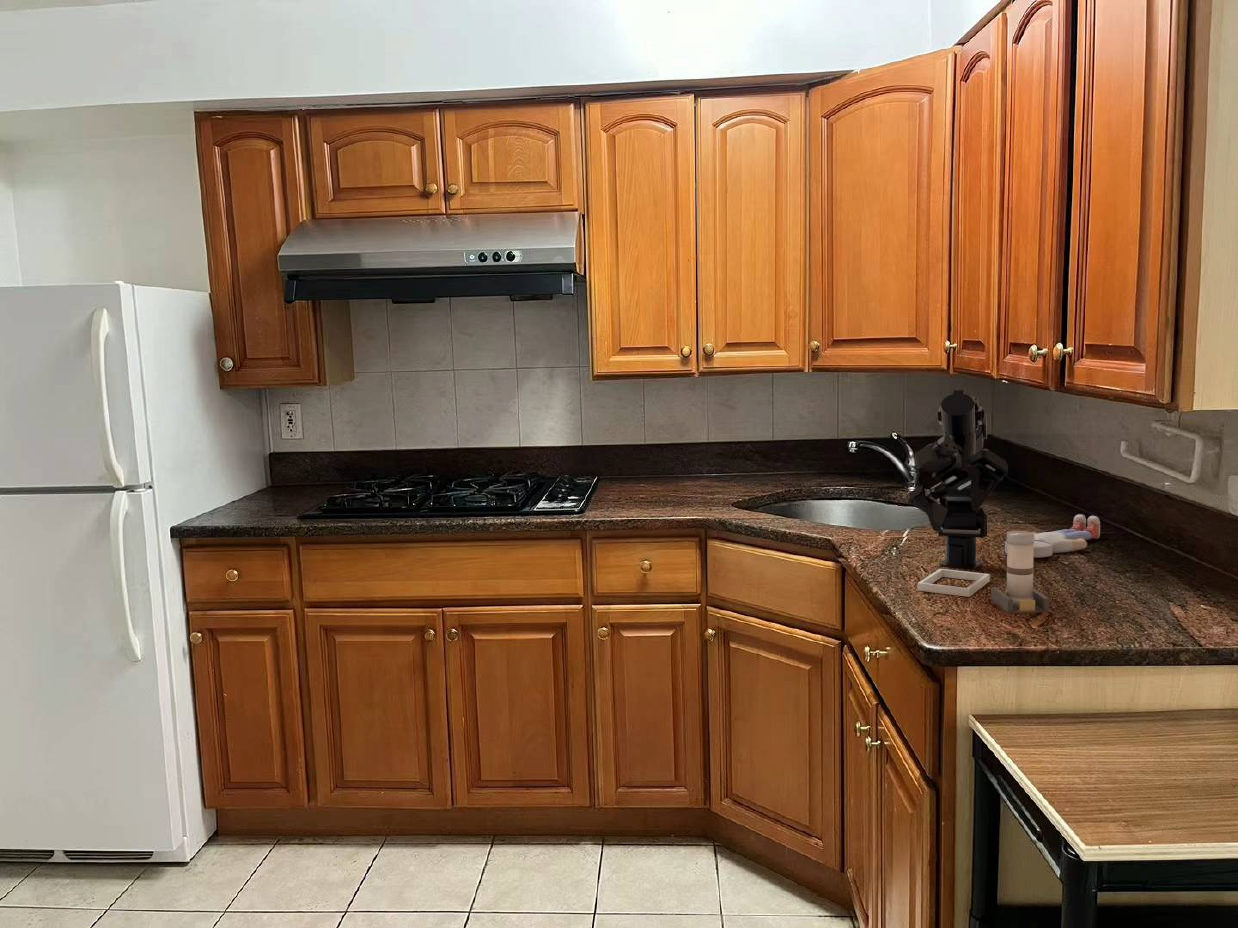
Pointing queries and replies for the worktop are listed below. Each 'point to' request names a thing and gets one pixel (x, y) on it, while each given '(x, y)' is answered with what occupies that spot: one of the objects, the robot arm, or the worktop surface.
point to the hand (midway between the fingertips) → (954, 520)
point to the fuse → (1020, 566)
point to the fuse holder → (1020, 602)
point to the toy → (1066, 537)
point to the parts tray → (960, 591)
